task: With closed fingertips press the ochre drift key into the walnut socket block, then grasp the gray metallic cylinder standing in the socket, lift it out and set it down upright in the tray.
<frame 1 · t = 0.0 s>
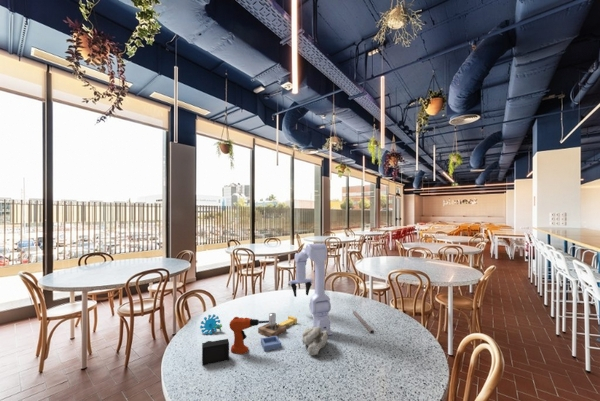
hand: (301, 295, 161), 10 cm above the table, fingers open, 7 cm apart
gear: (211, 332, 135), on the table
tray: (270, 345, 120), on the table
toy drill: (249, 352, 115), on the table
metal rod: (362, 323, 145), on the table
digital camera: (215, 360, 109), on the table
gray metallic cylinder: (272, 323, 134), in the socket
socket: (272, 332, 134), on the table
drift key: (286, 322, 142), point 1 cm above the table, slide at 0.0 cm
mineral: (315, 348, 118), on the table
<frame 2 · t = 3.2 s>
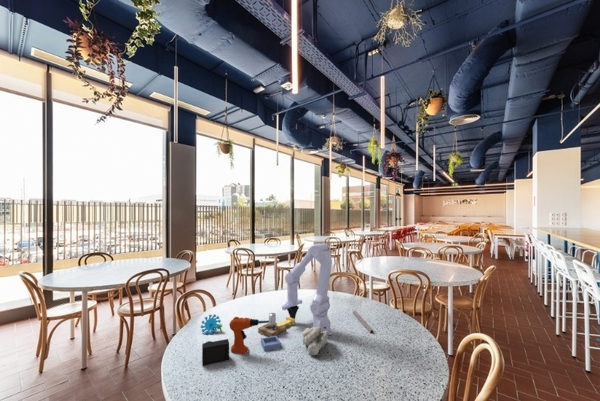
hand: (292, 319, 146), 1 cm above the table, fingers closed
drift key: (284, 323, 141), point 1 cm above the table, slide at 1.6 cm, touching gripper
everything else where it was.
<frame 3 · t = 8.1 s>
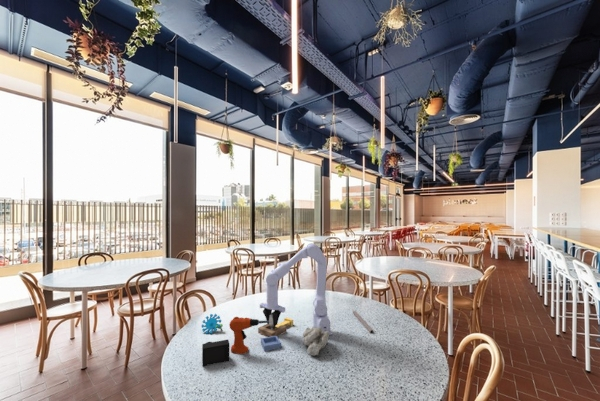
hand: (272, 324, 134), 4 cm above the table, fingers closed on gray metallic cylinder, 3 cm apart
gray metallic cylinder: (272, 323, 134), in the socket, touching gripper
drift key: (283, 324, 140), point 1 cm above the table, slide at 3.0 cm
everything else where it was.
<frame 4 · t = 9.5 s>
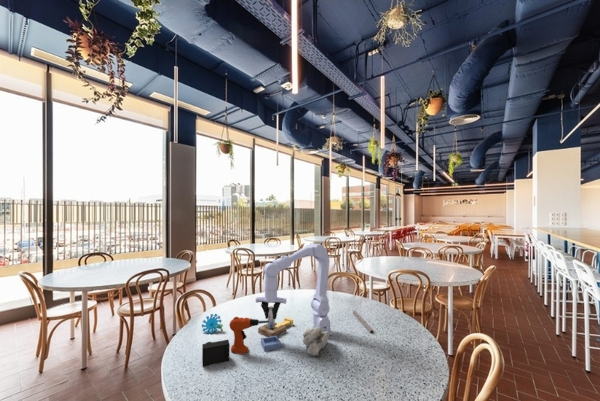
hand: (271, 318, 125), 10 cm above the table, fingers closed on gray metallic cylinder, 3 cm apart
gray metallic cylinder: (271, 317, 125), point 11 cm above the table, touching gripper
when the fingers open (6 cm above the table, at t = 11.0 s): gray metallic cylinder stays where it is, resting on tray.
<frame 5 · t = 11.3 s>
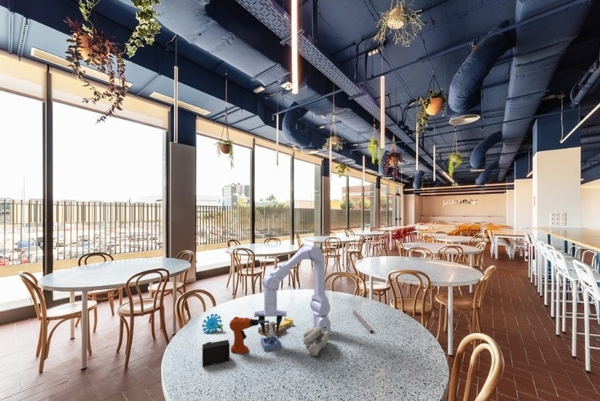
hand: (270, 332, 121), 6 cm above the table, fingers open, 5 cm apart
gray metallic cylinder: (270, 333, 121), in the tray, point 5 cm above the table
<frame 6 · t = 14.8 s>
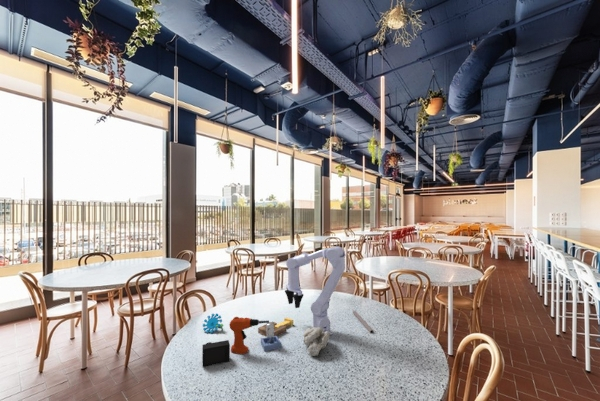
hand: (294, 305, 143), 10 cm above the table, fingers open, 7 cm apart
at the end: drift key slide at 3.0 cm; gray metallic cylinder 0.2 cm off-centre on the tray, point 5.2 cm above the tray's base; gray metallic cylinder tilted 2° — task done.
